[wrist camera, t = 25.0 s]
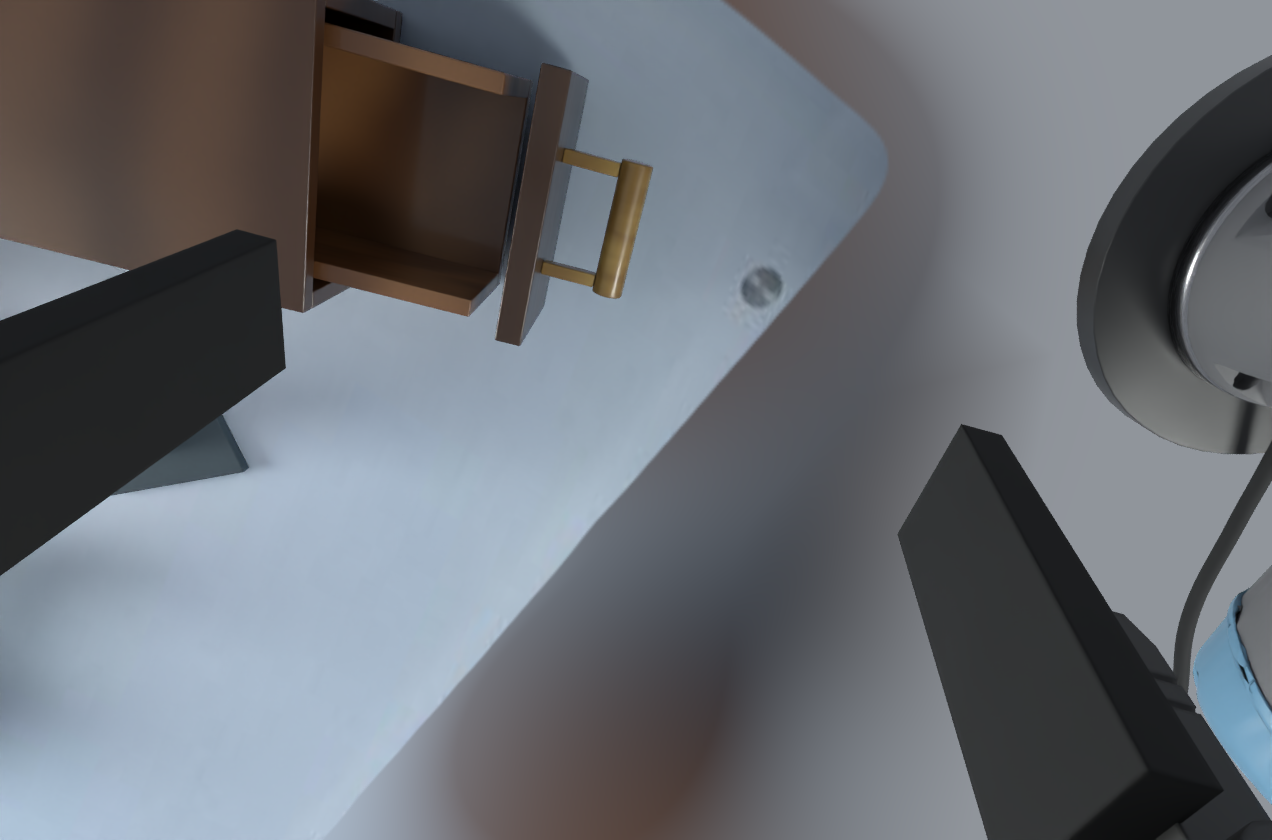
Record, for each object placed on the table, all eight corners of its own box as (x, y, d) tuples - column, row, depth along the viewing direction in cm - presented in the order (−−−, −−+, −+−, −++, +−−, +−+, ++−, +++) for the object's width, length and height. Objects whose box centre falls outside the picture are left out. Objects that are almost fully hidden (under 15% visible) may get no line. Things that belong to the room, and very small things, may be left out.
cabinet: (402, 12, 31) (317, -22, 23) (380, 271, 36) (303, 313, 28) (84, -78, 30) (-119, -147, 22) (107, 202, 35) (-50, 226, 27)
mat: (249, 467, 42) (244, 472, 41) (109, 492, 43) (102, 497, 42) (172, 317, 38) (165, 320, 37) (20, 349, 39) (11, 352, 38)
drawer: (668, 102, 32) (671, 98, 25) (613, 324, 36) (603, 367, 30) (303, -2, 30) (211, -32, 24) (295, 243, 35) (216, 271, 29)
